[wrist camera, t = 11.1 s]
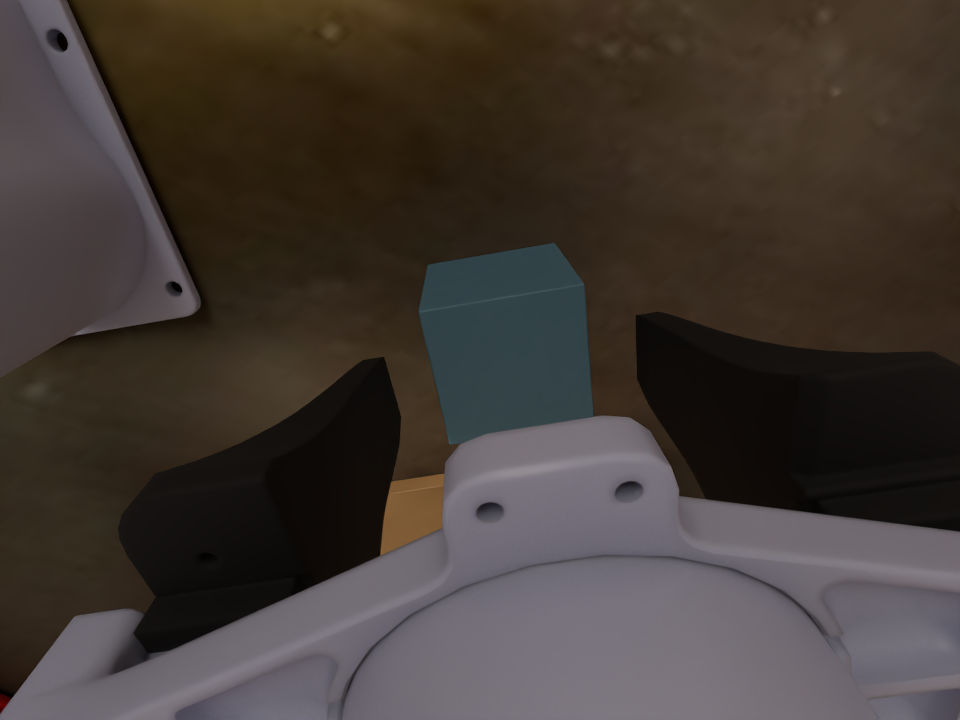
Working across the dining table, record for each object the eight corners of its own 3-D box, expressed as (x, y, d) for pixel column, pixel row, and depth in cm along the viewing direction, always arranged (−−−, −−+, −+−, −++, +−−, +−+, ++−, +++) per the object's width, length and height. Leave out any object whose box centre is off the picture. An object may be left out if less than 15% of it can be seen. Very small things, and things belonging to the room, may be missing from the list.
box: (625, 444, 21) (694, 584, 15) (631, 627, 26) (684, 783, 20) (377, 483, 21) (344, 634, 15) (434, 655, 27) (427, 816, 21)
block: (427, 264, 17) (417, 311, 13) (555, 242, 17) (584, 283, 13) (451, 375, 19) (449, 446, 15) (565, 357, 19) (594, 422, 15)
